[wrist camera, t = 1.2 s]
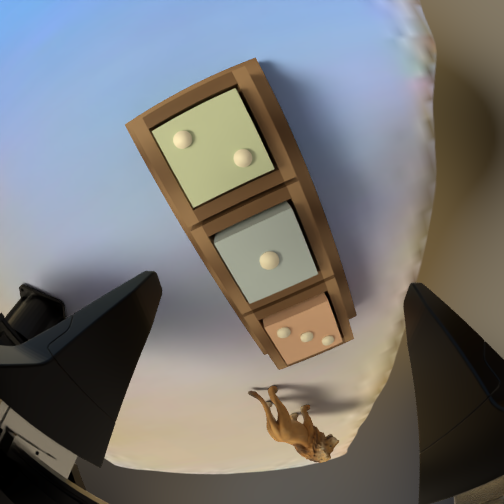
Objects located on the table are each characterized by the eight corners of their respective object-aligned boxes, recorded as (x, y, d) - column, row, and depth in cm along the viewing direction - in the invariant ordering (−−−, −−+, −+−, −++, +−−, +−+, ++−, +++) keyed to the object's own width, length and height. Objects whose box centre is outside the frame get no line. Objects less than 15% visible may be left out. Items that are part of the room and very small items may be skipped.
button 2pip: (269, 163, 16) (274, 169, 14) (197, 198, 17) (193, 208, 15) (234, 92, 14) (235, 87, 12) (160, 130, 15) (150, 131, 13)
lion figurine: (332, 406, 36) (347, 455, 28) (306, 422, 37) (317, 468, 29) (261, 378, 31) (271, 443, 23) (234, 397, 32) (237, 457, 24)
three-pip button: (335, 326, 23) (343, 343, 21) (283, 348, 23) (287, 366, 22) (320, 285, 21) (329, 302, 19) (261, 310, 21) (264, 329, 19)
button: (310, 260, 20) (319, 275, 18) (247, 287, 20) (249, 305, 18) (284, 198, 17) (292, 208, 16) (215, 231, 18) (213, 244, 16)
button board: (351, 306, 27) (369, 337, 22) (262, 344, 28) (268, 379, 23) (253, 62, 16) (261, 44, 12) (131, 124, 17) (105, 125, 13)
